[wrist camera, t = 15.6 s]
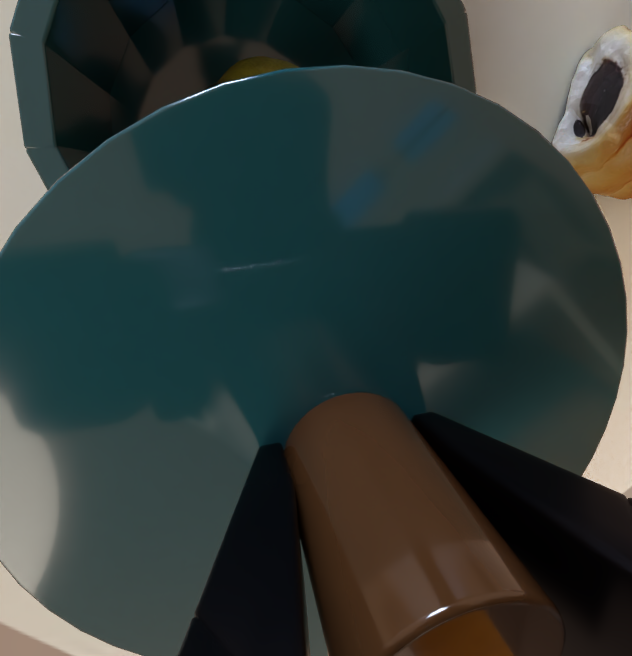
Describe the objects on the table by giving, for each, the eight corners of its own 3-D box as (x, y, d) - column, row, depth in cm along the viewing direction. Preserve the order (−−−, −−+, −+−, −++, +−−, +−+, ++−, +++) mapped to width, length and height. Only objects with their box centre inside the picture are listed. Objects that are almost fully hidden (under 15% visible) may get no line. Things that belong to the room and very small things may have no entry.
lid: (398, -127, 6) (1168, -1318, 1) (644, 397, 11) (953, 563, 7) (-194, 442, 7) (-1128, 1083, 2) (299, 674, 12) (354, 995, 7)
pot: (259, -116, 14) (297, -349, 8) (429, 163, 19) (538, 159, 13) (21, 116, 15) (-118, 75, 9) (244, 329, 20) (260, 403, 13)
